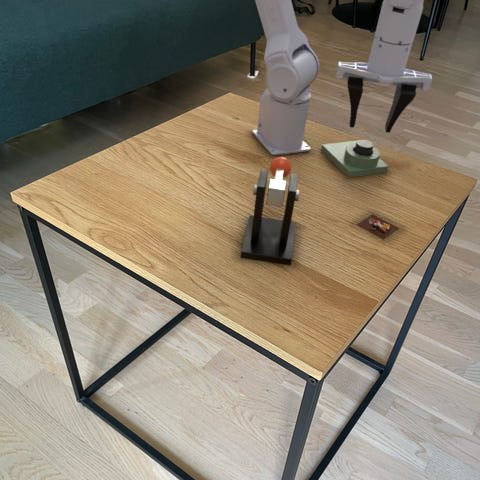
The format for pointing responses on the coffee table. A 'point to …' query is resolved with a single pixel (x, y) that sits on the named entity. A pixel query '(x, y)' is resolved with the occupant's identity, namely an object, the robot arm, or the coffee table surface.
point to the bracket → (271, 227)
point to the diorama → (378, 226)
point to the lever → (278, 181)
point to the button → (364, 147)
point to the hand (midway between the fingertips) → (369, 127)
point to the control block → (354, 159)
